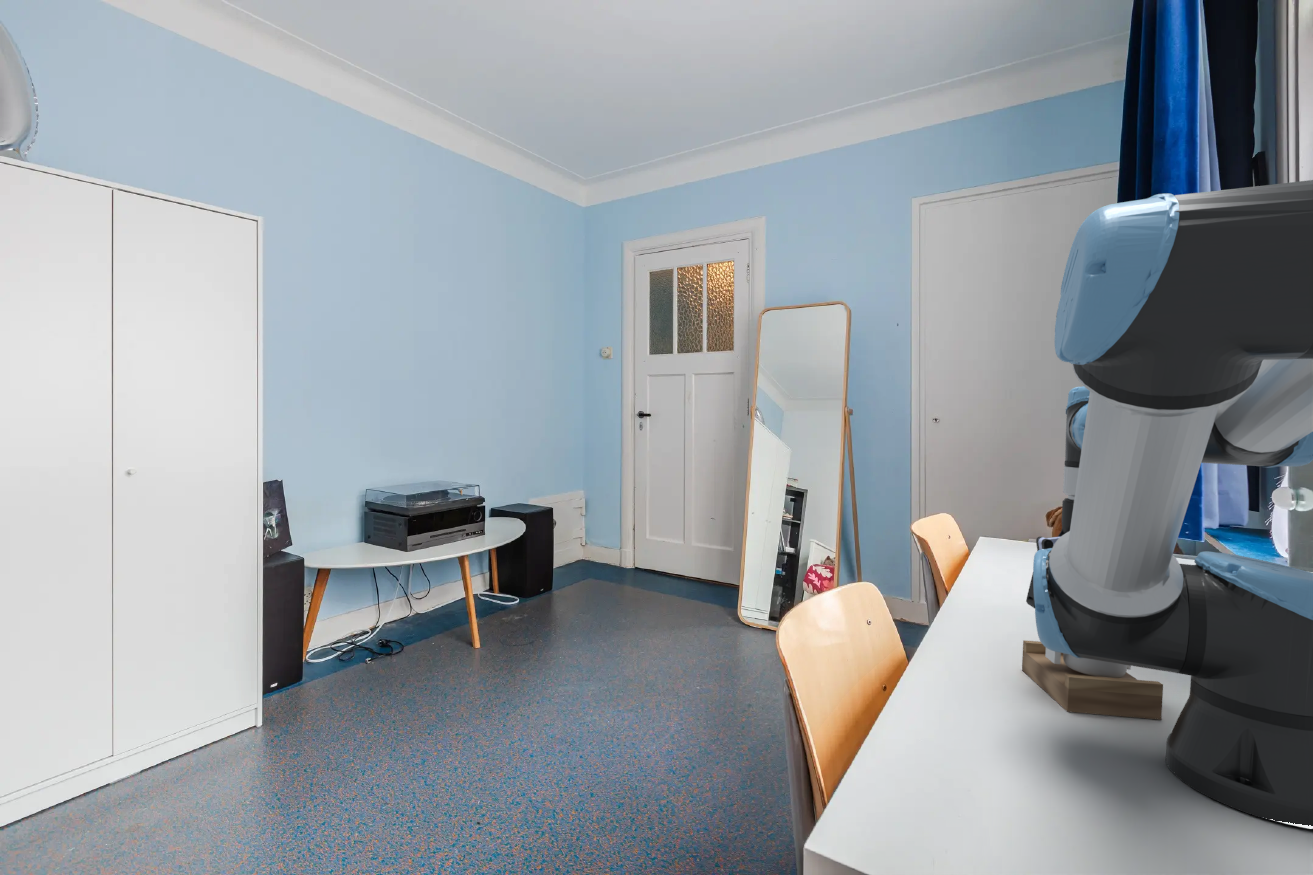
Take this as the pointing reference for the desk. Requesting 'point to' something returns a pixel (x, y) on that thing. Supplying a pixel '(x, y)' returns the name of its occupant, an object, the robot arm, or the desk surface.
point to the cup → (1095, 667)
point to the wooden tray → (1092, 688)
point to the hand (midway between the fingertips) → (1087, 662)
